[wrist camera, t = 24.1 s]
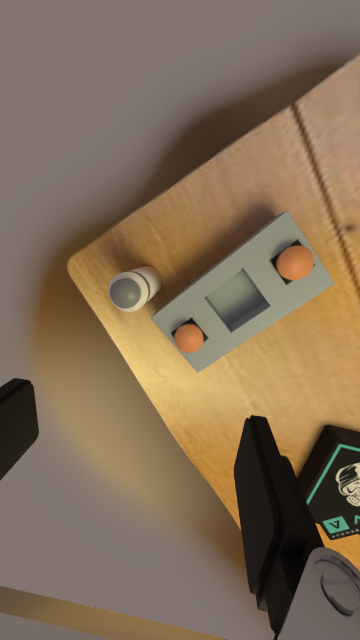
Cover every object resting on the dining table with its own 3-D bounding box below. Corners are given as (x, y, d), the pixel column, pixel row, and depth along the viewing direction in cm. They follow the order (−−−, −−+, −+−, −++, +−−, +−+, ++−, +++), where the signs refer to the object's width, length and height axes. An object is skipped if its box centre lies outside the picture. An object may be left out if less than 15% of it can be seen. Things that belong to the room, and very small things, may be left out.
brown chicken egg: (288, 240, 33) (302, 238, 28) (304, 263, 34) (320, 266, 29) (262, 259, 34) (272, 260, 29) (278, 281, 35) (290, 286, 30)
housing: (276, 216, 33) (288, 210, 29) (317, 279, 35) (335, 283, 31) (157, 309, 40) (150, 318, 35) (198, 358, 42) (197, 372, 37)
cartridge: (134, 264, 38) (103, 270, 26) (163, 267, 37) (146, 275, 26) (133, 293, 39) (103, 311, 28) (161, 297, 39) (143, 317, 27)
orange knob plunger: (192, 311, 38) (191, 320, 33) (208, 330, 38) (209, 342, 34) (172, 326, 39) (168, 336, 34) (188, 344, 39) (186, 357, 35)
